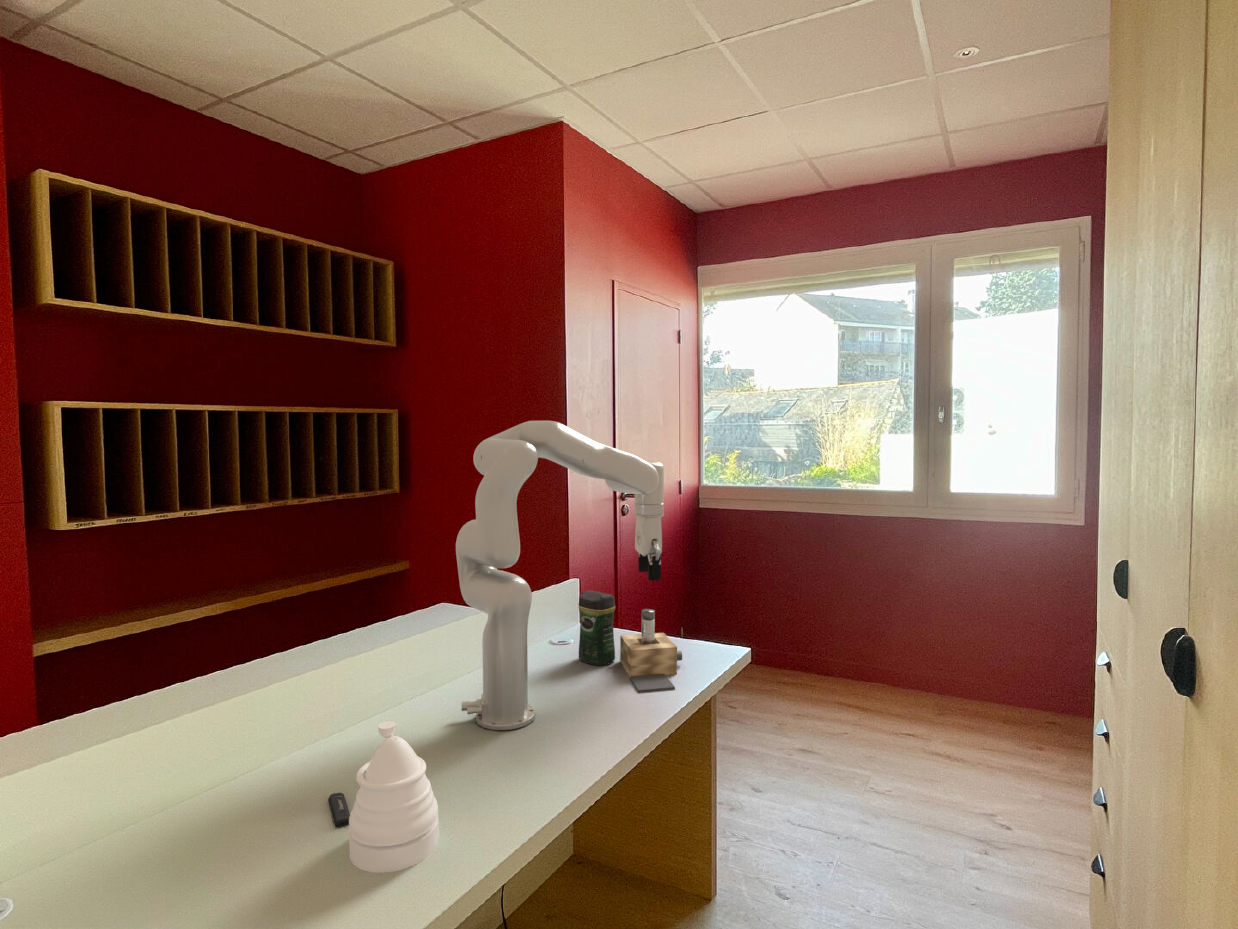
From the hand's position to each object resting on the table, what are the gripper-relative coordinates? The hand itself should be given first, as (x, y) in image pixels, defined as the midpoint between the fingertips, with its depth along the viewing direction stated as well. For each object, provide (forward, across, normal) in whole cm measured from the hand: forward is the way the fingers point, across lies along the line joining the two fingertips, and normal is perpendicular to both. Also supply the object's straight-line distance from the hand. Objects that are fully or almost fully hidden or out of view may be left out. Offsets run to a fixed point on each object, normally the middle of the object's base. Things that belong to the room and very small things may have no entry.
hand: (649, 575), depth 177 cm
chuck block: (+24, 0, +1) cm, 24 cm away
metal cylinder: (+21, 0, 0) cm, 21 cm away
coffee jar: (+24, -8, -12) cm, 28 cm away
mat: (+24, +11, -2) cm, 27 cm away
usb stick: (+24, +53, -67) cm, 89 cm away
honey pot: (+23, +64, -58) cm, 89 cm away
